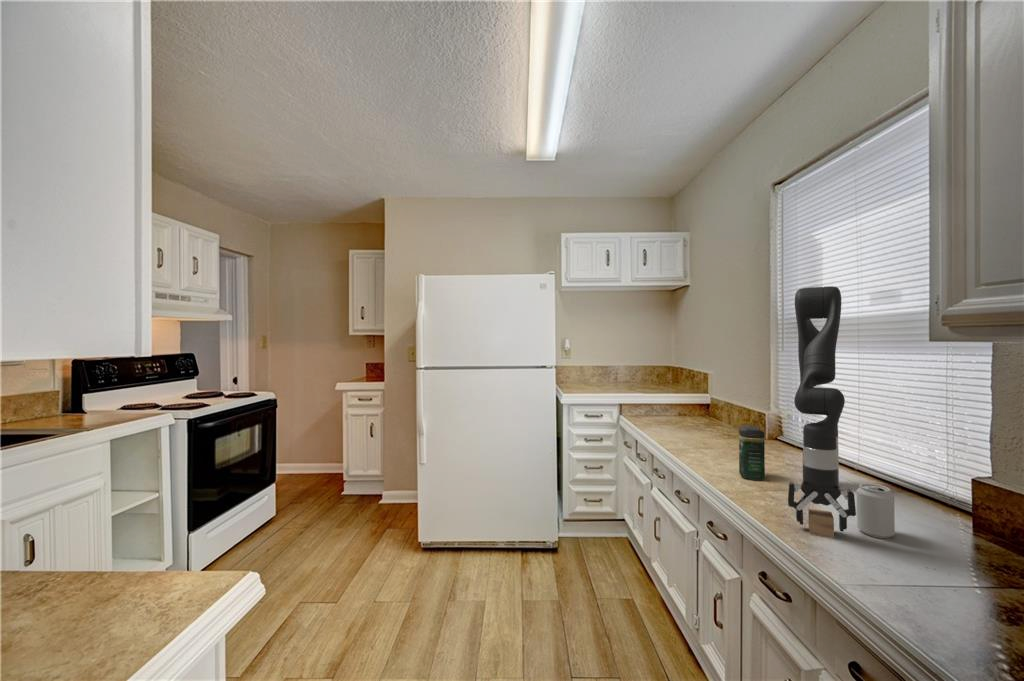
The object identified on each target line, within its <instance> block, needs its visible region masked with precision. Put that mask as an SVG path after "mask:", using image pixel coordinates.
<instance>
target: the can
mask: <svg viewBox="0 0 1024 681" xmlns="http://www.w3.org/2000/svg"><path fill="white" fill-rule="evenodd" d="M891 491H892V490H891V488H889V487H887V486H884V485H880V484H877V483H860V484H859V487H858V488H857V489H856V527H857V528H858V529H859V531H860V532H862V533H863V534H865V535H867V536H871V537H874V538H877V537H878V539H879V538H880V539H890V538H891V537H893V536H894V535H895V532H896V531H895V495H894V494H893V493H892V492H891Z"/></svg>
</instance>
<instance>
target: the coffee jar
mask: <svg viewBox="0 0 1024 681" xmlns="http://www.w3.org/2000/svg"><path fill="white" fill-rule="evenodd" d="M765 439H766V438H765V431H764V430H763V429H761V428H759V427H758V426H756V425H755V424H753V425H752V424H750V425H749V424H743V425H742V426H740V427H739V428H738V458H739V459H738V466H739V467H738V473H739V474H740V476H741V477H742V478H743V479H747V480H752V481H760V480H762V481H763V480H765V477H766V467H765V465H766V463H765V460H766V459H765V457H766V454H765V450H766V448H765V447H766V446H765V443H766V442H765Z"/></svg>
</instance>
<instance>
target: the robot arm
mask: <svg viewBox="0 0 1024 681" xmlns="http://www.w3.org/2000/svg"><path fill="white" fill-rule="evenodd" d="M794 310H795V319H796V324H797V325H796V326H797V337H798V339H797V340H798V344H797V345H798V346H797V349H798V350H797V352H798V366H799V375H800V376H799V378H800V380H799V382H800V383H799V385H798V388H797V391H796V392H795V396H794V402H793V403H794V407H795V408H796V410H797V411H798V412H799V413H802V414H805V415H806V414H807V415H816V416H817V415H818V416H826V417H825V418H824V419H822V420H820V421H817V422H810V423H805V424H804V426H803V429H802V430H803V431H802V432H803V434H802V435H803V436H802V438H803V440H802V441H803V448H802V449H803V450H802V460H801V462H802V482H801V484H800V483H799V484H798V483H794V481H790V482H789V483H788V491H787V492H788V495H787V503H788V504H787V505H788V506H789V507H791V508H794V509H795V510H796V515H795V516H796V521H797V522H798V523H799V525H801V526H804V511H803V510H804V508H805V507H806V506H808V505H809V504H810V503H813V504H815V505H823V506H827V507H828V506H830V505H831V506H832V507H833V509H835V510H836V511H837V513H838V522H839V523H838V529H839V531H840V532H844V530H847V528H848V517H856V516H857V508H856V499H855V498H856V497H855V493H854V490H852V489H849V488H848V489H840V475H839V474H840V473H839V472H840V471H839V468H840V467H839V466H840V465H839V464H840V462H839V459H840V458H839V421H840V418H841V415H842V413H843V411H844V410H843V409H844V407H845V402H846V399H845V395H844V393H843V392H842V391H841V390H840V389H838V388H834V387H833V388H831V387H816V386H821V385H826V384H827V385H828V384H831V383H832V382H834V380H835V379H836V349H837V348H836V347H837V341H838V336H839V332H840V323H841V314H842V294H841V290H840V289H839V287H838V286H831V285H830V286H829V285H828V286H816V287H802V288H799V289H798V290H796V292H795V295H794ZM812 319H813V320H816V319H817V320H818V319H819V320H821V319H824V320H825V319H826V320H825V324H824V325H823V327H822V328H821V330H820V331H819V329H817V327H816V326H815V325H814V324H813V322H812ZM799 490H801V491H802V493H803V496H801V498H800V499H799V500H798V501H795V493H797V492H799ZM841 496H843V497H844V499H845V500H847V509H844V507H842V505H841V504H840V502H838V498H840V497H841Z"/></svg>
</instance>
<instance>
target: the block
mask: <svg viewBox="0 0 1024 681" xmlns="http://www.w3.org/2000/svg"><path fill="white" fill-rule="evenodd" d="M807 510H808V511H807V512H808V516H807V517H808V521H807V522H808V530H809V534H810V533H811V534H810V535H813V534H815V535H814V536H819V535H820V536H819V537H824V536H826V537H825V538H830V537H831V539H835V518H834V516H833V513H832V511H829V510H821V509H816V508H810V507H809V508H808V509H807Z"/></svg>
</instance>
